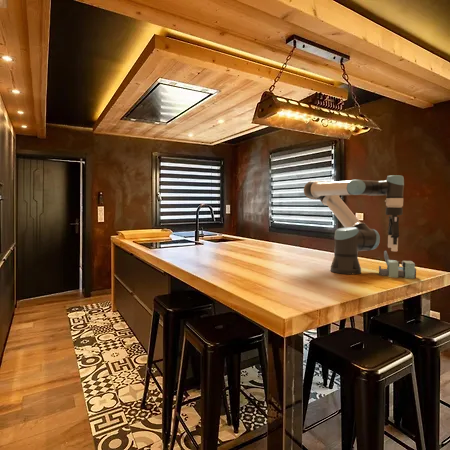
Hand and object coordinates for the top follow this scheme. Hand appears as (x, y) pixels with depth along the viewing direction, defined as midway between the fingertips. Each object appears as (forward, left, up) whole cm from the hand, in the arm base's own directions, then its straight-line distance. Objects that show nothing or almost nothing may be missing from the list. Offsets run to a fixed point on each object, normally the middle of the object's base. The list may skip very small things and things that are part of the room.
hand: (392, 249), depth 160 cm
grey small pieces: (+5, +15, -14) cm, 21 cm away
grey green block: (0, 0, -13) cm, 13 cm away
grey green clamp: (+2, 0, -13) cm, 13 cm away
